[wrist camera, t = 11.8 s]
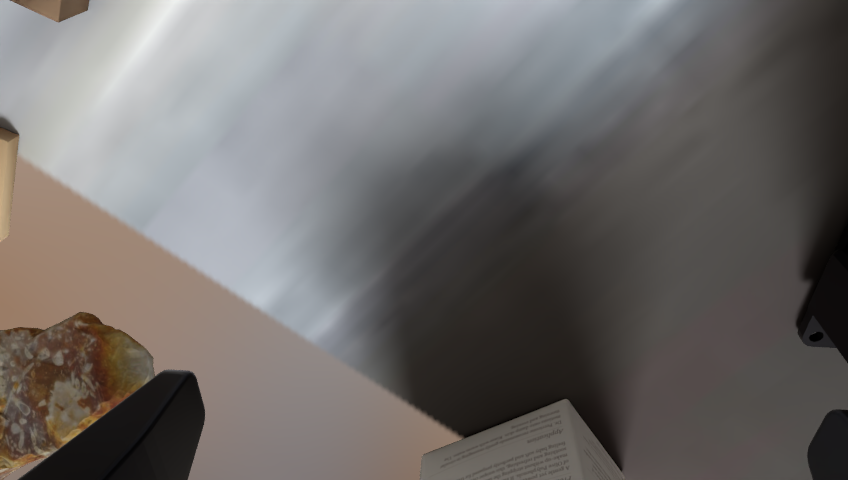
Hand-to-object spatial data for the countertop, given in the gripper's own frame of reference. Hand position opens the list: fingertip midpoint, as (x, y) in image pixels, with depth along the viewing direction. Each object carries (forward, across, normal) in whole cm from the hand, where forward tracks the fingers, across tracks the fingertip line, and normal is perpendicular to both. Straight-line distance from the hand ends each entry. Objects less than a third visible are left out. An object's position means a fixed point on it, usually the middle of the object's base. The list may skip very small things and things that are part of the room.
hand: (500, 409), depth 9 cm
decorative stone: (+14, +20, +15) cm, 28 cm away
